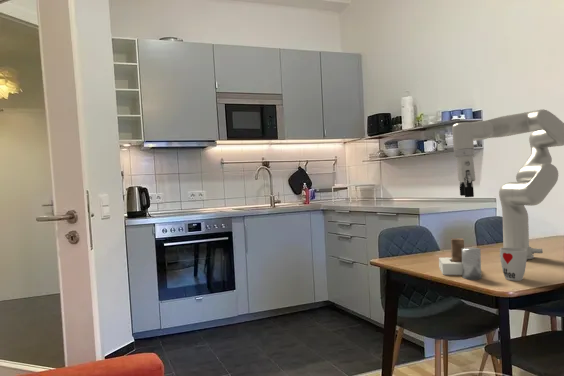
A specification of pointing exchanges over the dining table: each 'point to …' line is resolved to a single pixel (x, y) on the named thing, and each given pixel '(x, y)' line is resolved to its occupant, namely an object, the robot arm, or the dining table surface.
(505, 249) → the cup
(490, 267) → the dining table surface
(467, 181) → the robot arm
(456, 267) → the bore block
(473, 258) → the grey cylinder
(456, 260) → the walnut peg
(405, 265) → the dining table surface
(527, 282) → the dining table surface
